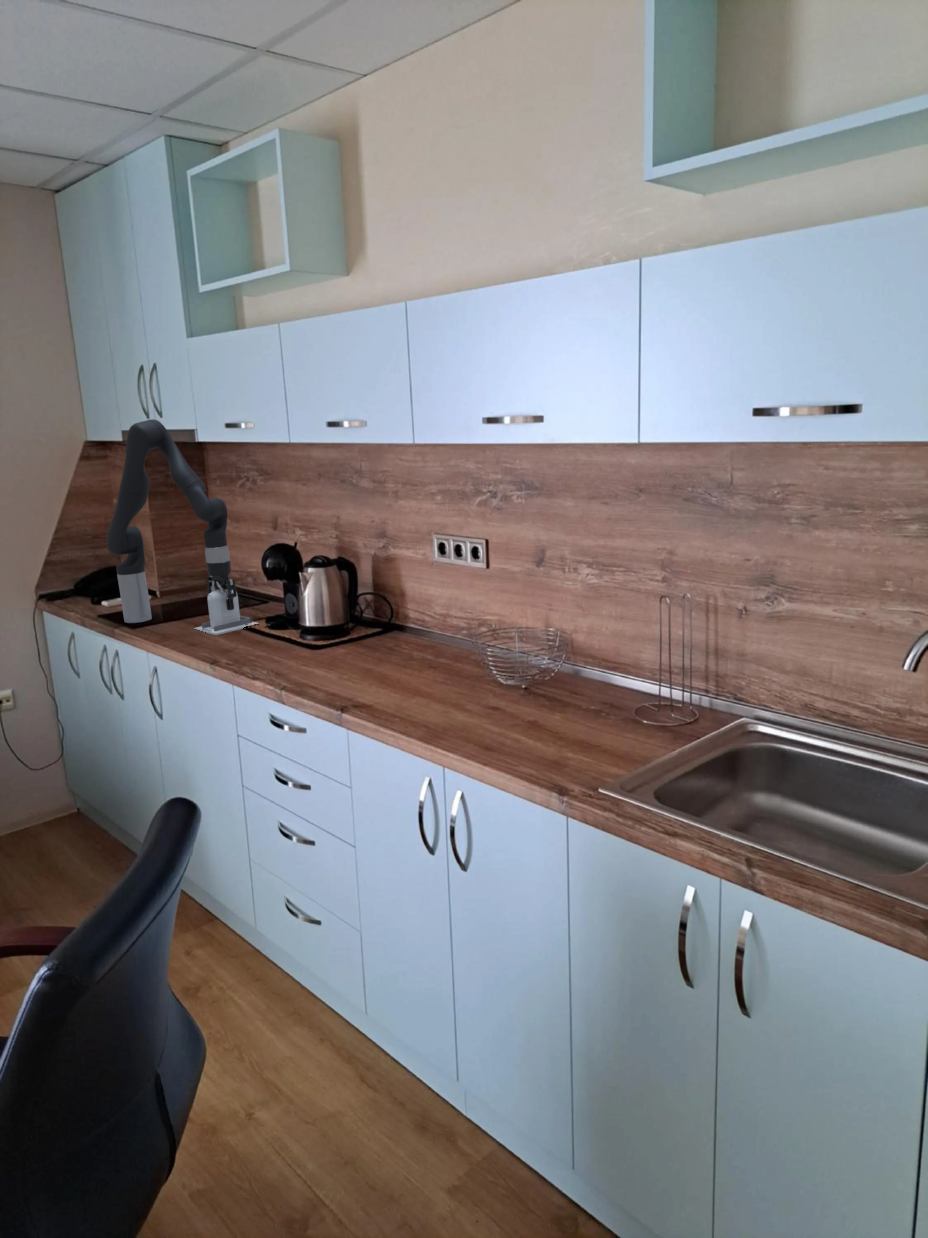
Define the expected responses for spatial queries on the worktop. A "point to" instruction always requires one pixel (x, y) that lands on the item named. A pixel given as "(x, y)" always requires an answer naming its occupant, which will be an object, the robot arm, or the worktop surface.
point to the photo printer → (221, 609)
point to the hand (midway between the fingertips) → (224, 608)
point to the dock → (226, 626)
